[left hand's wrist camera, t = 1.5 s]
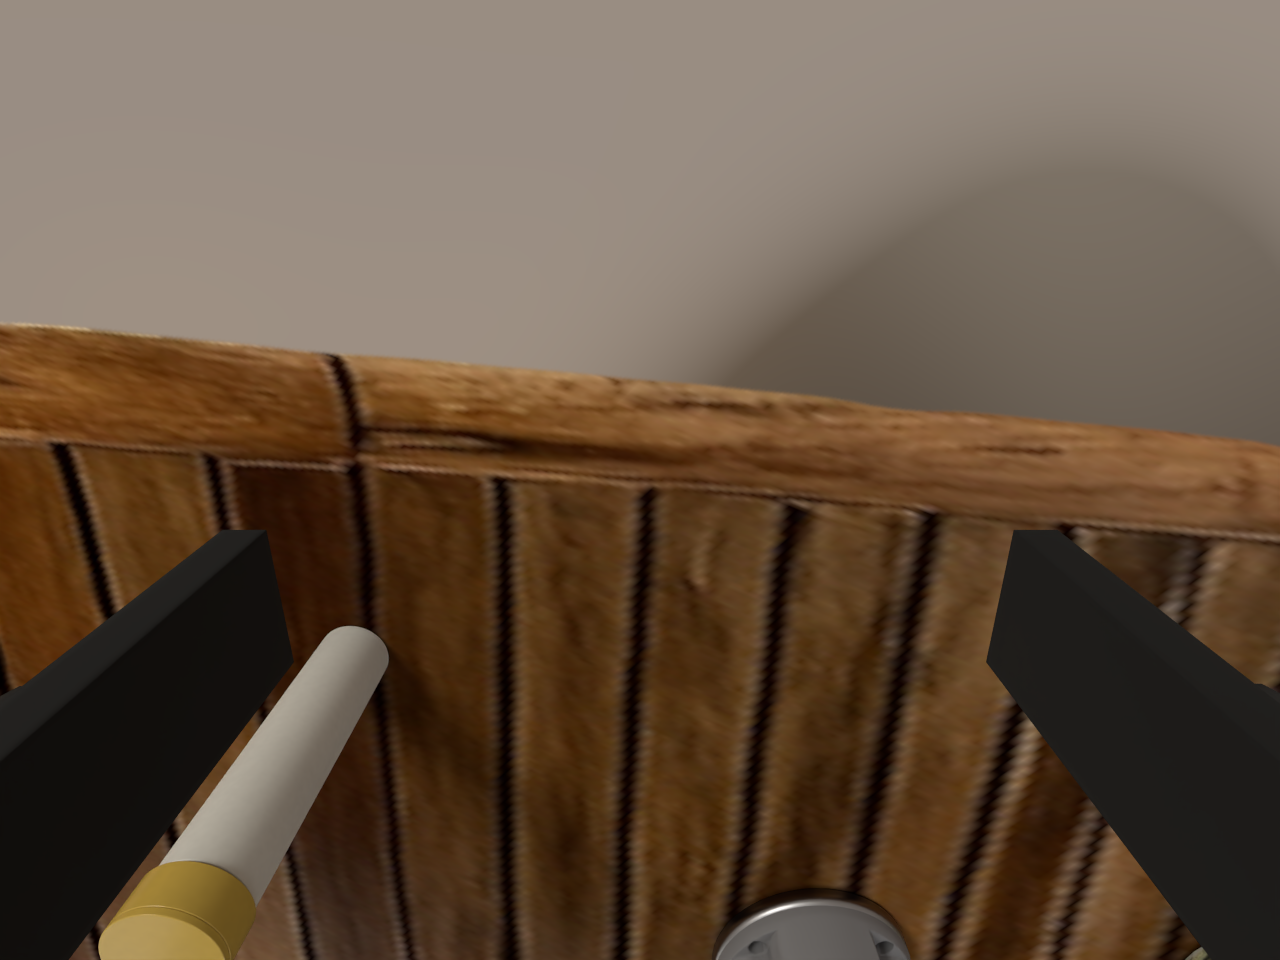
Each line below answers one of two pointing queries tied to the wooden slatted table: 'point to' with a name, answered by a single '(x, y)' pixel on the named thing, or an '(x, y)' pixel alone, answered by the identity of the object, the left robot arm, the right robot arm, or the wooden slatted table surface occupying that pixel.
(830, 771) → the wooden slatted table surface
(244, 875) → the white bottle
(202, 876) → the lid
